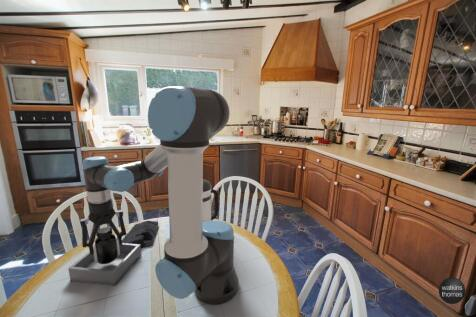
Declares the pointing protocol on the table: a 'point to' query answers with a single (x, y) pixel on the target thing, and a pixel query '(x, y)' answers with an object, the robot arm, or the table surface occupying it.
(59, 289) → the table surface
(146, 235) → the dark slate chunk
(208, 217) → the coffee press
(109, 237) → the supplement bottle
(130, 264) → the bin
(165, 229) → the table surface
